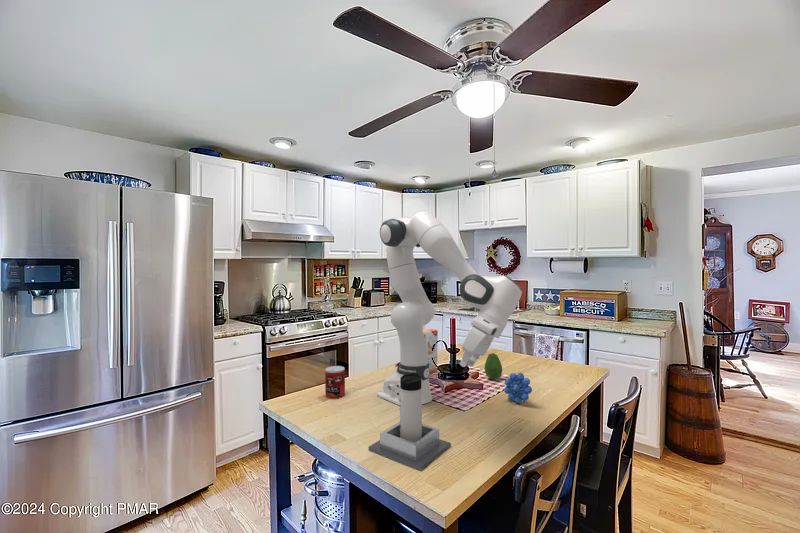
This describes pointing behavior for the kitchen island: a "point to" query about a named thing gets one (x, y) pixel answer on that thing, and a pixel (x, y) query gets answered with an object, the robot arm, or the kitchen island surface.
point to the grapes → (517, 387)
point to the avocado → (493, 367)
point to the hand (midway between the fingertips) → (465, 365)
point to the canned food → (334, 382)
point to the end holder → (410, 447)
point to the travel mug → (411, 407)
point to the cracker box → (431, 339)
